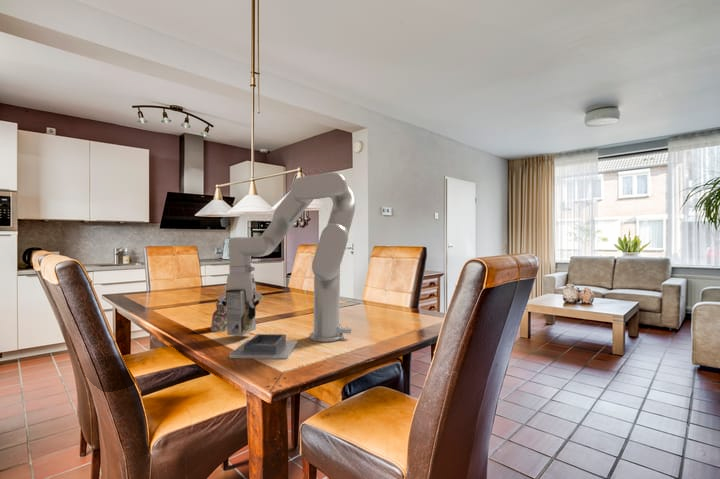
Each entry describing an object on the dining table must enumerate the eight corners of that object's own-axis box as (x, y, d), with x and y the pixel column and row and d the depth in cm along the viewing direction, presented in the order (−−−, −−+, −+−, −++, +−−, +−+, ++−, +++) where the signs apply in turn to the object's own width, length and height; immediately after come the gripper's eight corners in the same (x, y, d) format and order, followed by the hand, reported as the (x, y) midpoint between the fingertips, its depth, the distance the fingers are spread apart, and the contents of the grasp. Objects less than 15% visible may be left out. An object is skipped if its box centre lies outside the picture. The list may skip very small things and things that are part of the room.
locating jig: (298, 343, 125) (298, 333, 125) (287, 358, 109) (287, 347, 109) (247, 342, 125) (247, 332, 125) (229, 358, 109) (229, 346, 109)
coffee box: (241, 328, 137) (240, 286, 136) (256, 329, 135) (255, 286, 135) (226, 335, 128) (225, 290, 128) (241, 336, 126) (240, 290, 126)
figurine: (212, 332, 139) (212, 301, 139) (209, 328, 145) (209, 299, 145) (231, 330, 142) (231, 300, 142) (227, 326, 148) (228, 297, 148)
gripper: (266, 269, 135) (267, 316, 135) (221, 270, 135) (222, 316, 135) (260, 271, 127) (261, 320, 127) (212, 272, 128) (213, 321, 128)
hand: (241, 318), depth 131 cm, fingers closed on coffee box, 7 cm apart
